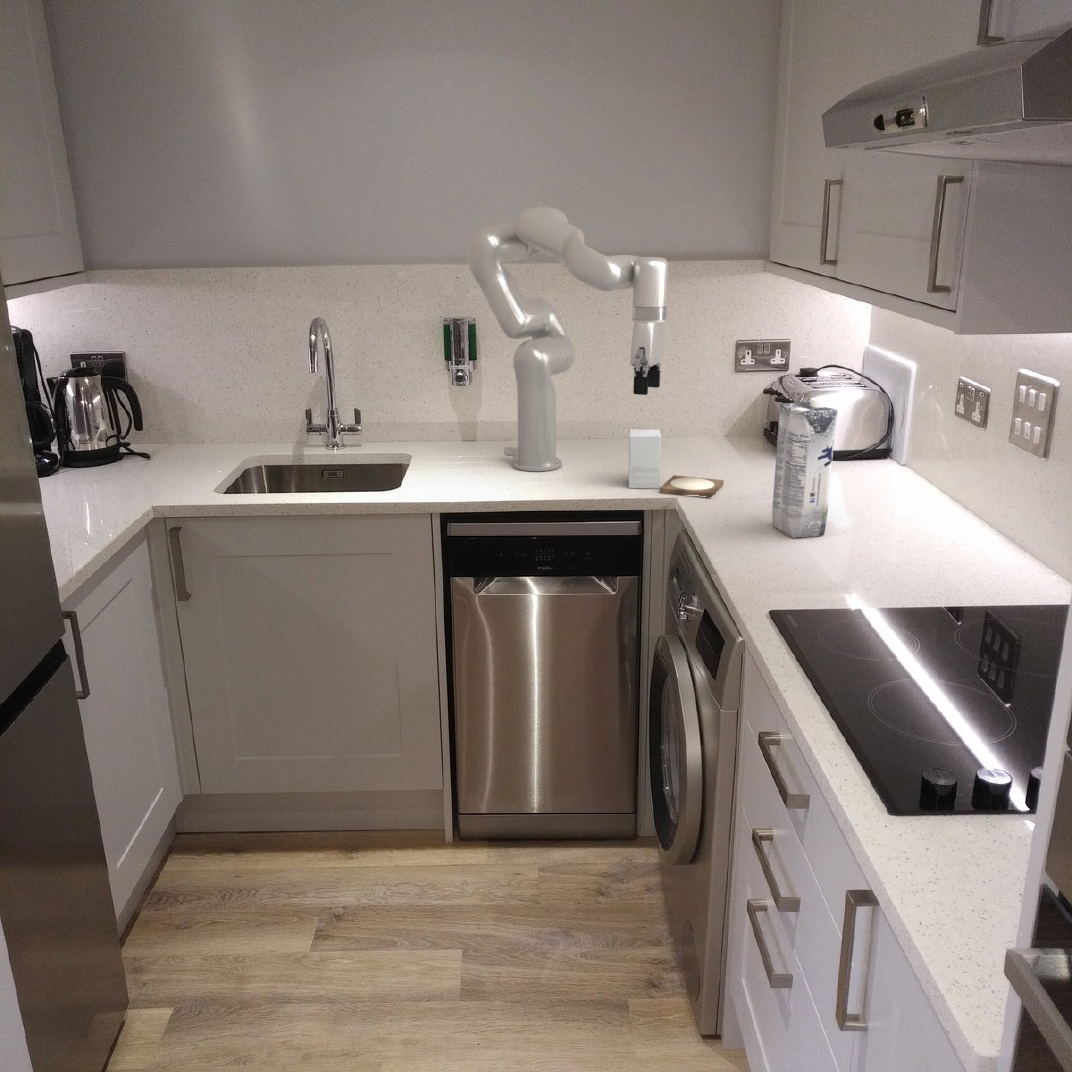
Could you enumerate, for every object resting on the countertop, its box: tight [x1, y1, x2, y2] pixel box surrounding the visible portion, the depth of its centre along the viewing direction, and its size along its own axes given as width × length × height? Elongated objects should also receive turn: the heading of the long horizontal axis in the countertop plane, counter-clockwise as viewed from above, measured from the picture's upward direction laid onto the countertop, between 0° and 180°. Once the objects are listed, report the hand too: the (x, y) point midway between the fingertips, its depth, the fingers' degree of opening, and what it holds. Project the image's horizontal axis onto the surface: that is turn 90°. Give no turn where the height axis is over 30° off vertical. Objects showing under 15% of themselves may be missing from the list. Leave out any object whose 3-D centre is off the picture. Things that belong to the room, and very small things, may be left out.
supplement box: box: [628, 428, 662, 490], centre depth 237 cm, size 7×7×13 cm
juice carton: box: [771, 397, 838, 539], centre depth 201 cm, size 9×10×27 cm
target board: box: [659, 474, 724, 497], centre depth 235 cm, size 12×12×1 cm
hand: (646, 390), depth 232 cm, fingers open, 9 cm apart
